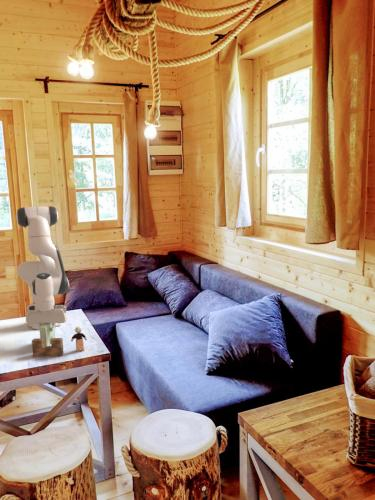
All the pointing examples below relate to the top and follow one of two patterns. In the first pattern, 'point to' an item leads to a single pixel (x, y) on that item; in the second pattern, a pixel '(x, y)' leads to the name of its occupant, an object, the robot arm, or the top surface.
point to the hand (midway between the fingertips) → (47, 331)
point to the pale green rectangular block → (47, 333)
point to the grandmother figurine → (79, 339)
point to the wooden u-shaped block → (47, 347)
